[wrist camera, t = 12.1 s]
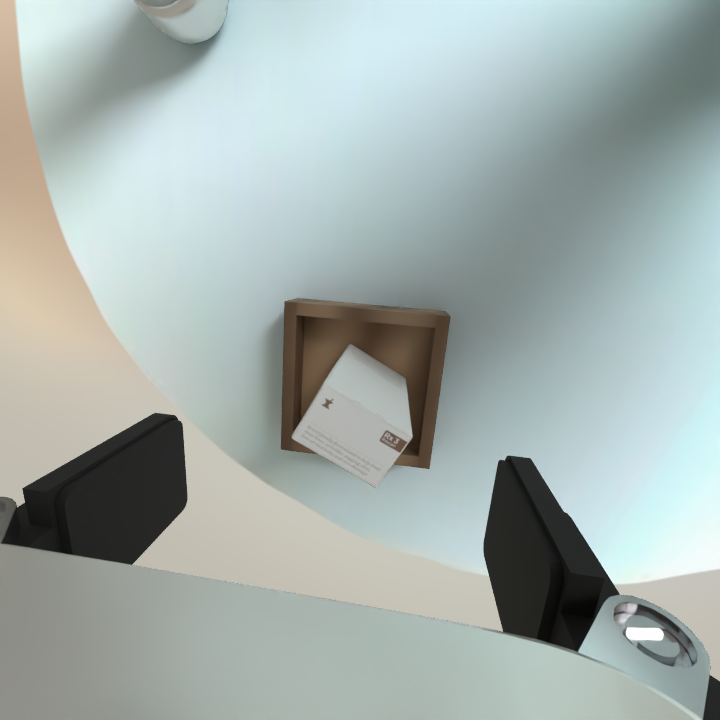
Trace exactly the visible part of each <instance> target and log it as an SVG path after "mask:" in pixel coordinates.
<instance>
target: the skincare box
mask: <svg viewBox="0 0 720 720" xmlns="http://www.w3.org/2000/svg"><path fill="white" fill-rule="evenodd" d="M412 437H413V435H412V428H411V420H410V411H409V402H408V393H407V385H406V378H405V377H403V376H401V375H400V374H398V373H397V372H395V371H393V370H392V369H390V368H389V367H387V366H385V365H384V364H382V363H381V362H379V361H377V360H376V359H374V358H373V357H371V356H369V355H368V354H366V353H365V352H363V351H361V350H360V349H358V348H357V347H355V346H353V345H352V344H349V345H348V346H347V348H346V349H345V351H344V352H343V354H342V355H341V357H340V358H339V360H338V361H337V363H336V364H335V366H334V367H333V369H332V370H331V372H330V373H329V375H328V377H327V378H326V380H325V381H324V383H323V384H322V386H321V388H320V389H319V391H318V393H317V395H316V396H315V398H314V400H313V402H312V403H311V405H310V407H309V408H308V410H307V412H306V413H305V415H304V417H303V418H302V420H301V422H300V423H299V425H298V426H297V428H296V429H295V431H294V432H293V434H292V439H293V440H295V441H297V442H298V443H300V444H302V445H304V446H305V447H307V448H309V449H311V450H312V451H314V452H316V453H317V454H319V455H321V456H322V457H324V458H326V459H328V460H329V461H331V462H333V463H334V464H336V465H338V466H340V467H341V468H343V469H345V470H346V471H348V472H350V473H351V474H353V475H355V476H356V477H358V478H360V479H361V480H363V481H365V482H366V483H368V484H370V485H371V486H373V487H375V488H376V487H377V486H378V485H379V483H380V482H381V481H382V479H383V478H384V476H385V475H386V474H387V472H388V471H389V469H390V468H391V466H392V465H393V464H394V462H395V461H396V459H397V458H398V457H399V455H400V454H401V453H402V451H403V450H404V449H405V447H406V446H407V444H408V443H409V442H410V440H411V439H412Z"/></svg>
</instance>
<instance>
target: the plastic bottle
mask: <svg viewBox="0 0 720 720" xmlns="http://www.w3.org/2000/svg"><path fill="white" fill-rule="evenodd" d="M134 1H135V2H136V4H137V5H138V6H139V8H140V9H141V10H142V11H143V13H144V14H145V15H146V16H147V18H148V19H149V20H150V21H151V23H152V24H153V25H154V26H156V27H157V28H158V29H159V30H160V31H162V32H164V33H165V34H167V35H168V36H170V37H171V38H173V39H175V40H177V41H179V42H182V43H186V44H195V43H199V42H203V41H206V40H207V39H209V38H211V37H212V36H213V35H215V34H216V33H217V31H218V30H219V29H220V28H221V26H222V24H223V22H224V20H225V17H226V14H227V8H228V2H229V0H134Z"/></svg>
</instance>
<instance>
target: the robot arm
mask: <svg viewBox="0 0 720 720" xmlns="http://www.w3.org/2000/svg"><path fill="white" fill-rule="evenodd" d="M23 494H24V499H25V503H24V504H22V505H21V506H19V507H18V508H17V505H16V502H15V501H14V500H13V499H11V498H7V497H0V720H720V681H718V680H717V679H715V678H713V677H712V676H711V675H710V669H711V667H710V659H709V655H708V653H707V651H706V650H705V648H704V646H703V644H702V643H701V642H700V640H699V639H698V638H697V637H696V636H695V634H694V633H693V632H692V631H691V630H690V629H689V628H688V627H687V626H685V625H684V624H683V623H682V622H681V621H680V620H678V619H677V618H676V617H674V616H673V615H672V614H670V613H668V612H667V611H666V610H664V609H663V608H661V607H659V606H657V605H655V604H653V603H650V602H648V601H646V600H643V599H640V598H637V597H634V596H628V595H620V594H619V592H618V591H617V589H616V588H615V586H614V584H613V583H612V581H611V580H610V578H609V577H608V575H607V573H606V572H605V570H604V569H603V567H602V566H601V564H600V562H599V561H598V559H597V558H596V556H595V555H594V553H593V551H592V550H591V548H590V547H589V545H588V544H587V542H586V540H585V539H584V537H583V536H582V534H581V533H580V531H579V529H578V528H577V526H576V525H575V523H574V522H573V520H572V518H571V517H570V516H569V515H568V514H567V513H565V512H564V511H563V510H562V508H561V507H560V505H559V503H558V502H557V500H556V499H555V497H554V495H553V494H552V492H551V491H550V489H549V487H548V486H547V484H546V483H545V481H544V479H543V478H542V476H541V475H540V473H539V471H538V470H537V468H536V466H535V465H534V463H533V462H532V460H531V459H530V458H523V457H515V456H507V457H506V459H505V461H504V460H500V461H499V462H498V466H497V472H496V477H495V483H494V488H493V494H492V499H491V505H490V510H489V516H488V522H487V527H486V533H485V538H484V557H485V561H486V565H487V569H488V573H489V577H490V581H491V585H492V589H493V593H494V597H495V601H496V605H497V609H498V613H499V617H500V621H501V624H502V628H503V632H501V631H497V630H492V629H487V628H482V627H478V626H473V625H469V624H463V623H458V622H452V621H447V620H441V619H436V618H430V617H425V616H419V615H414V614H408V613H403V612H397V611H392V610H386V609H381V608H375V607H370V606H364V605H358V604H353V603H347V602H342V601H336V600H330V599H325V598H318V597H313V596H307V595H302V594H296V593H290V592H285V591H279V590H273V589H267V588H262V587H256V586H250V585H244V584H239V583H233V582H227V581H221V580H216V579H210V578H204V577H199V576H193V575H187V574H181V573H175V572H170V571H164V570H158V569H152V568H147V567H141V566H135V565H132V564H133V563H134V562H135V561H136V560H137V559H138V558H139V557H140V556H141V555H142V554H143V552H144V551H145V550H146V549H147V548H148V547H149V546H150V545H151V544H152V543H153V542H154V541H155V539H156V538H157V537H158V536H159V535H160V534H161V533H162V532H163V531H164V530H165V529H166V528H167V527H168V526H169V525H170V524H171V523H172V521H173V520H174V519H175V518H176V517H177V516H178V515H179V514H180V513H181V512H182V510H183V509H184V508H185V506H186V503H187V484H186V469H185V454H184V440H183V426H182V423H181V421H178V418H177V417H176V416H175V415H168V414H160V413H155V414H152V415H150V416H149V417H147V418H145V419H143V420H142V421H140V422H138V423H137V424H135V425H133V426H131V427H130V428H128V429H126V430H124V431H122V432H121V433H119V434H117V435H115V436H114V437H112V438H110V439H108V440H107V441H105V442H103V443H102V444H100V445H98V446H96V447H94V448H92V449H91V450H89V451H87V452H85V453H84V454H82V455H80V456H79V457H77V458H75V459H73V460H71V461H70V462H68V463H66V464H64V465H63V466H61V467H59V468H57V469H56V470H54V471H52V472H50V473H49V474H47V475H45V476H43V477H42V478H40V479H38V480H36V481H35V482H33V483H31V484H30V485H28V486H26V487H24V488H23Z"/></svg>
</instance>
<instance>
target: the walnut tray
mask: <svg viewBox="0 0 720 720" xmlns="http://www.w3.org/2000/svg"><path fill="white" fill-rule="evenodd" d="M449 322H450V316H449V315H448V314H447V313H446V312H445V311H434V310H423V309H412V308H401V307H389V306H378V305H367V304H355V303H344V302H333V301H321V300H310V299H299V298H297V299H293V300H289V301H285V309H284V349H283V390H282V430H281V449H282V450H289V451H297V452H305V453H312V454H317V453H316V452H314V451H312V450H311V449H309V448H307V447H305V446H304V445H302V444H300V443H298V442H297V441H295V440H293V439H292V434H293V432H294V431H295V429H296V428H297V426H298V425H299V423H300V422H301V420H302V418H303V417H304V415H305V413H306V412H307V410H308V408H309V407H310V405H311V403H312V402H313V400H314V398H315V396H316V395H317V393H318V391H319V389H320V388H321V386H322V384H323V383H324V381H325V380H326V378H327V377H328V375H329V373H330V372H331V370H332V369H333V367H334V366H335V364H336V363H337V361H338V360H339V358H340V357H341V355H342V354H343V352H344V351H345V349H346V348H347V346H348V345H349V344H352V345H353V346H355V347H357V348H358V349H360V350H361V351H363V352H365V353H366V354H368V355H369V356H371V357H373V358H374V359H376V360H377V361H379V362H381V363H382V364H384V365H385V366H387V367H389V368H390V369H392V370H393V371H395V372H397V373H398V374H400V375H401V376H403V377H405V378H406V385H407V393H408V402H409V411H410V420H411V428H412V435H413V437H412V439H411V440H410V442H409V443H408V444H407V446H406V447H405V449H404V450H403V451H402V453H401V454H400V455H399V457H398V458H397V459H396V461H395V462H394V464H396V465H403V466H411V467H419V468H426V469H429V467H430V460H431V453H432V446H433V438H434V431H435V424H436V416H437V409H438V402H439V395H440V387H441V380H442V373H443V365H444V358H445V351H446V344H447V336H448V329H449Z"/></svg>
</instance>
